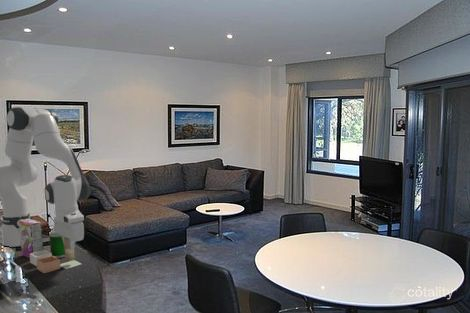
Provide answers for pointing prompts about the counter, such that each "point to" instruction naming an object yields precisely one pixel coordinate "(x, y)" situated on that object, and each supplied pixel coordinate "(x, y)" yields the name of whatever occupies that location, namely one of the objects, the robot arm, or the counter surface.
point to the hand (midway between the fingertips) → (69, 246)
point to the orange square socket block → (48, 264)
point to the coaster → (70, 264)
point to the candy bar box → (30, 237)
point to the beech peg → (68, 250)
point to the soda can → (57, 245)
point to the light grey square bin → (39, 256)
